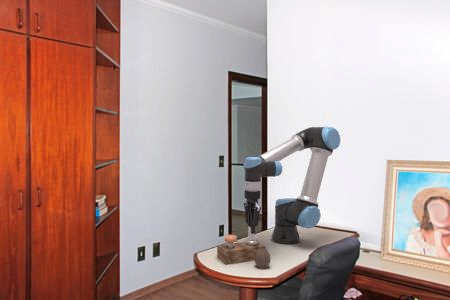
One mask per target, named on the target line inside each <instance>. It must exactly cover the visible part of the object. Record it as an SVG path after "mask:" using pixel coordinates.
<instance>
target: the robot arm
mask: <svg viewBox="0 0 450 300" xmlns="http://www.w3.org/2000/svg"><path fill="white" fill-rule="evenodd" d="M340 144H341V135H340V133H339V131H338V130H337V129H336V127H332V126H316V127H315V126H312V127H307V128H305V129H303V130H301V131H299V132H296V133H295V134H293V135H291V138H290V139H288V140H286V141H284V142H282V143H281V144H279V145H278V146H275V147H273V148H271V149H269V150H268V151H266V152H264V153H262V154H260V155H258V156H255V157H254V156H249V157H246V158H245V161H244V162H243V169H244V199H246V201H245V202H244V203H243V208H244V212H245V213H244V218H245V224H247V226H248V227H247V228H248V233H247V234H248V235H247V237H248V238H247V239H248V240H250V241H251V240H255V239H256V227H258V226H259V222H260V221H259V219H260V213H261V210H262V207H261V206H259V200H261V187H262V186H261V184H262V178H268V177H270V178H271V177H273V178H274V177H279V176H281V175H282V173H283V165H282V162H280V161H282V160H284V159H285V158H287V157H289V156H291V155H293V154H294V153H296V152H302V151H303V150H306V149H310V151H311V155H310V159H309V163H308V166H307V169H306V172H305V177H304V181H303V184H302V188H301V190H300V191H301V192H300V195H299V196H298V197H296V198H294V197H293V198H292V197H290V198H287V197H286V198H279V199H276V200H275V206H274V207H275V208H274V211H275V212H274V217H275V218H274V228H273V231H272V234H271V241H272V242H275V243H277V244H283V245H295V244H298V243H299V242H300V234H299V231H298V227H300V228H303V229H313V228H314V227H316V226H317V225H318V224H319V222H320V220H321V217H322V216H321V210H320V208H319V202H318V201H317V200H318V196H319V193H320V189H321V186H322V182H323V179H324V173H325V171H326V167H327V163H328V159H329V157H330V156H332V155H333V152H334V150H337V149H338V148H339V147H340Z"/></svg>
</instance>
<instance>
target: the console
mask: <svg viewBox="0 0 450 300" xmlns="http://www.w3.org/2000/svg"><path fill="white" fill-rule="evenodd" d="M261 246H264V247H266V245H264V244H262V243H260V242H258V245H257V246H248V245H246V241H240V242H233V248H228V243H226V244H225V243H222V244H217V247H216V248H217V249H216V252H217V253H216V258H217V259H218V260H219V261H220V262H222V263H223V264H224V265H227V266H229V265H233V264H240V263H246V262H253V261H254V262H255V254H256V252H257V251H258V250H259V248H260V247H261Z"/></svg>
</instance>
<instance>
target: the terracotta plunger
mask: <svg viewBox="0 0 450 300" xmlns="http://www.w3.org/2000/svg"><path fill="white" fill-rule="evenodd" d="M237 241H238V236H237V234H225V235H224V242H227V244H228V248H233V243H237Z"/></svg>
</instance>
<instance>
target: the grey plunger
mask: <svg viewBox="0 0 450 300" xmlns="http://www.w3.org/2000/svg"><path fill="white" fill-rule="evenodd" d="M258 241H259V240H258V239H256V238H255V240H251V241H250V240H248V238H246V239H245V242H246V245H248V246H257V245H258Z"/></svg>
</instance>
